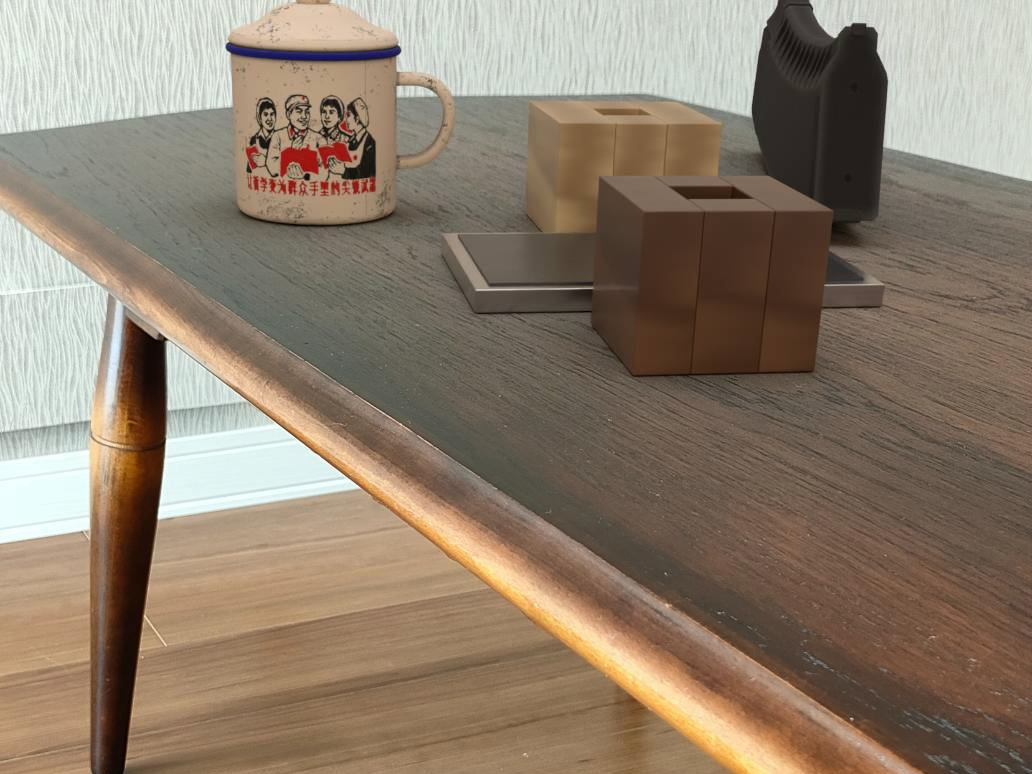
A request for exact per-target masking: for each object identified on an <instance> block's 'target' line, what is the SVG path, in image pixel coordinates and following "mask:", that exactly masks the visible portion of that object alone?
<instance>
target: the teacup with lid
mask: <svg viewBox="0 0 1032 774" xmlns="http://www.w3.org/2000/svg"><path fill="white" fill-rule="evenodd" d="M331 1H332V0H295V1H293V2H286V3H282V4H280V5H276V6H275V7H273V8H272V9H270V10H269V11H268V12H267V13H265V14H264V15H263V16H261V17H260V18H259V19H257V20H255V21H252V22H251V23H249V24H244V25H241V26H237V27H236V28H233V29H232V30H231V31H230V33H229V35H228V37H227V41H228V42H227V43H226V44H225V50H226V51H227V52H228V53H230V70H231V93H232V96H231V97H232V117H233V139H234V163H235V187H236V188H235V189H236V202H237V206H238V209H239V210H240V211H241V212H243V213H244V214H245V215H247V216H249V217H252V218H256V219H258V220H263V221H267V222H273V223H279V224H280V223H281V224H289V225H302V226H303V225H307V226H334V225H350V224H357V223H365V222H370V221H375V220H378V219H381V218H384V217H387V216H389V215H390V214H391V213H392V212H393V211H394V210H395V209H396V206H397V170H410V169H417V168H420V167H423V166H426V165H428V164H430V163H431V162H433V161H434V160H435V159H437V158H438V157H439V156H440V155H441V154H442V152H443V151H444V150H445V148H446V147H447V146H448V143H449V142H450V139H451V137H452V135H453V131H454V128H455V124H456V114H457V112H456V103H455V100H454V97H453V96H454V95H453V94H452V92H451V91H450V89H449V88H448V86H447V85H446V84H445V83H444V82H443V81H442V80H441V79H439V78H437V77H436V76H434V75H432V74H430V73H426V72H421V71H397V67H398V66H397V63H398V61H397V60H398V59H397V58H398V57H397V56H399V55H401V53H402V48H401V46H400V45H399V43H400V40H399V38H398V36H397V35H396V33H395V32H392V31H391V30H389V29H385V28H382V27H380V26H378V25H375V24H373V23H371V22H369V21H368V20H366V19H365V18H364V17H362V16H361V15H360V14H358V13H357V11H355V10H353V9H352V8H350V7H348V6H345V5H343V4H339V3H335V2H331ZM398 87H421V88H425V89H427V90H429V91H431V92H433V93H434V94H435V95H436V96H437V97H438V98H439V100H440V102H441V105H442V110H443V111H442V121H441V125H440V128H439V131H438V132H437V134H436V136H435V138H434V139H433V141H432V142H431V143H429V145H428V146H427V147H425V148H424V149H422V150H420V151H417V152H414V153H407V154H397V136H398V135H397V126H398V125H397V117H398V116H397V115H398V114H397V107H398V106H397V102H398V101H397V97H398V96H397V93H398V91H397V88H398Z"/></svg>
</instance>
